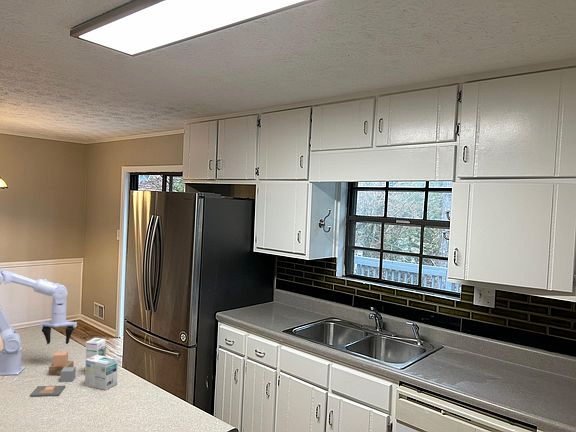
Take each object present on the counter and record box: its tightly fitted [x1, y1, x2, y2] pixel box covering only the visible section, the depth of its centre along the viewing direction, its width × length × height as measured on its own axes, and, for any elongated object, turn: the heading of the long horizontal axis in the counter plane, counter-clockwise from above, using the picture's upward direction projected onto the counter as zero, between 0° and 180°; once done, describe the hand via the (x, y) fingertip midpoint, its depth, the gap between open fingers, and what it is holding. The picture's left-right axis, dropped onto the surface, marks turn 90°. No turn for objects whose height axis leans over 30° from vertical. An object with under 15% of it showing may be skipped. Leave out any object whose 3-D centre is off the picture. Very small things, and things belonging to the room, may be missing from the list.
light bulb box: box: [84, 355, 119, 391], centre depth 177 cm, size 11×7×11 cm, turn 71°
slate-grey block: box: [59, 366, 77, 383], centre depth 180 cm, size 4×4×4 cm
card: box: [29, 385, 66, 398], centre depth 169 cm, size 10×8×1 cm
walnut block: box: [48, 360, 75, 377], centre depth 187 cm, size 7×7×4 cm
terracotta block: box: [52, 351, 69, 366], centre depth 187 cm, size 4×4×4 cm
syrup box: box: [85, 337, 107, 360], centre depth 188 cm, size 6×6×14 cm
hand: (58, 343), depth 194 cm, fingers open, 7 cm apart
